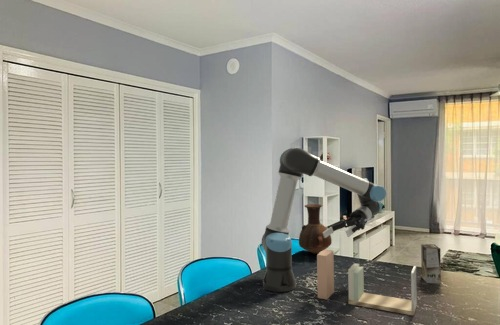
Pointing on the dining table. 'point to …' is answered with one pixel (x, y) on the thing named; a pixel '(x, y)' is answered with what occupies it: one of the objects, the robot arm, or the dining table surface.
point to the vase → (314, 232)
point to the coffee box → (431, 263)
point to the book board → (385, 303)
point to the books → (355, 282)
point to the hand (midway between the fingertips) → (335, 234)
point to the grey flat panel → (413, 288)
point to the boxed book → (325, 274)
